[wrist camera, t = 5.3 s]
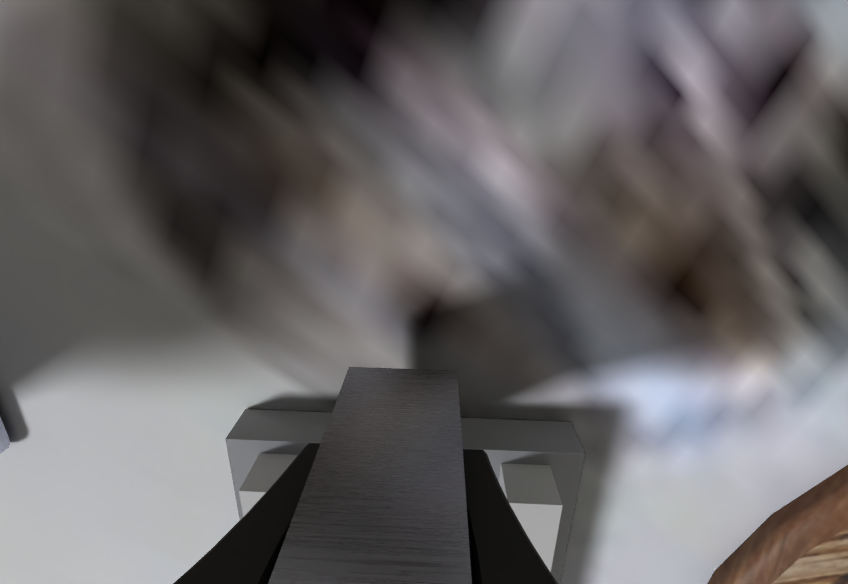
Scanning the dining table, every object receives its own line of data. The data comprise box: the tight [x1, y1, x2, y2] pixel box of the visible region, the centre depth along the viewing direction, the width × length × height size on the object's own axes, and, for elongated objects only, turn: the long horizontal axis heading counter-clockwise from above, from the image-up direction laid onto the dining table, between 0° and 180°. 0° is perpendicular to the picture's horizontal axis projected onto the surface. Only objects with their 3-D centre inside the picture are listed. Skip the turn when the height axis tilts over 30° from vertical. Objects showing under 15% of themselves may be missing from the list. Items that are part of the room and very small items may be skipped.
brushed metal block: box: [268, 367, 472, 584], centre depth 9 cm, size 3×3×7 cm
